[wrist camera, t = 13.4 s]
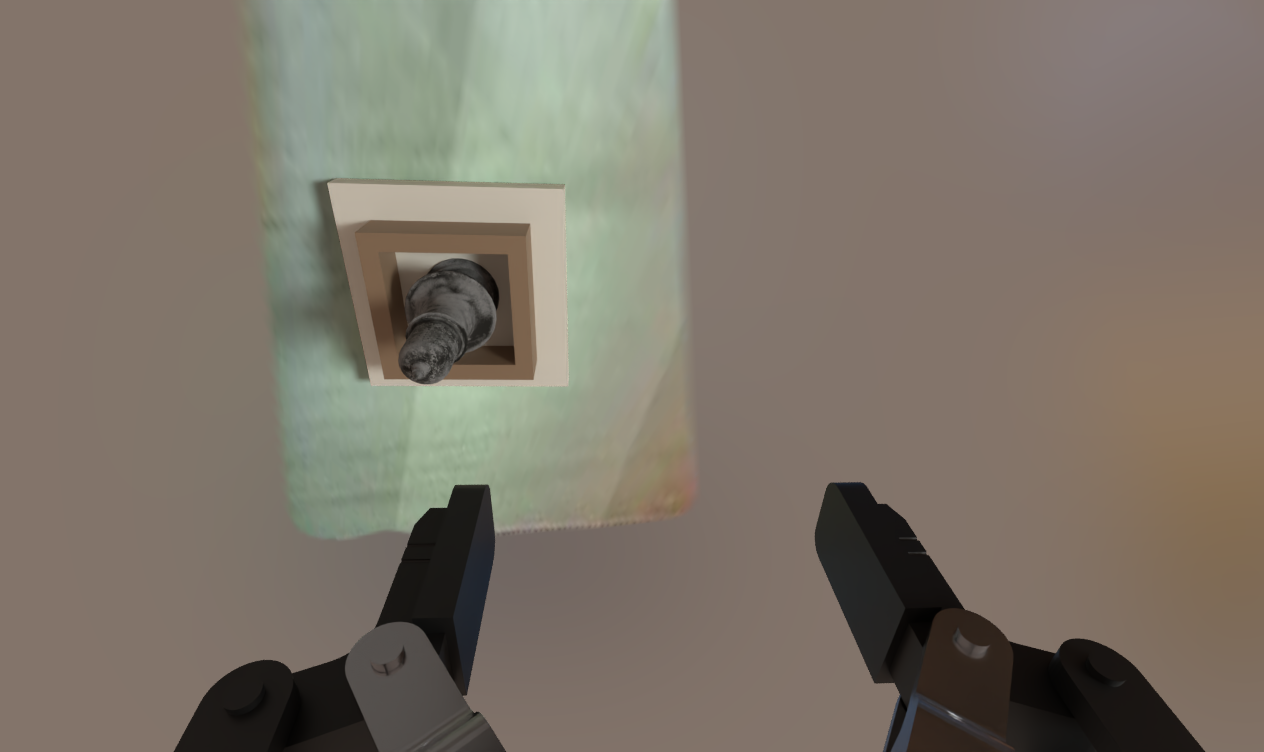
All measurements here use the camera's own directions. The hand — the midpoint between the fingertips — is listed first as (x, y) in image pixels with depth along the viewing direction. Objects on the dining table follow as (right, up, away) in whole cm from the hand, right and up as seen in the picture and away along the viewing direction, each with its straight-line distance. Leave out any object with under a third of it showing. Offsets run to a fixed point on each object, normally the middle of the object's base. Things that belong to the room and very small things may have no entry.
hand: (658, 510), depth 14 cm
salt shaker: (-13, +9, +27) cm, 31 cm away
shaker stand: (-13, +10, +28) cm, 33 cm away
